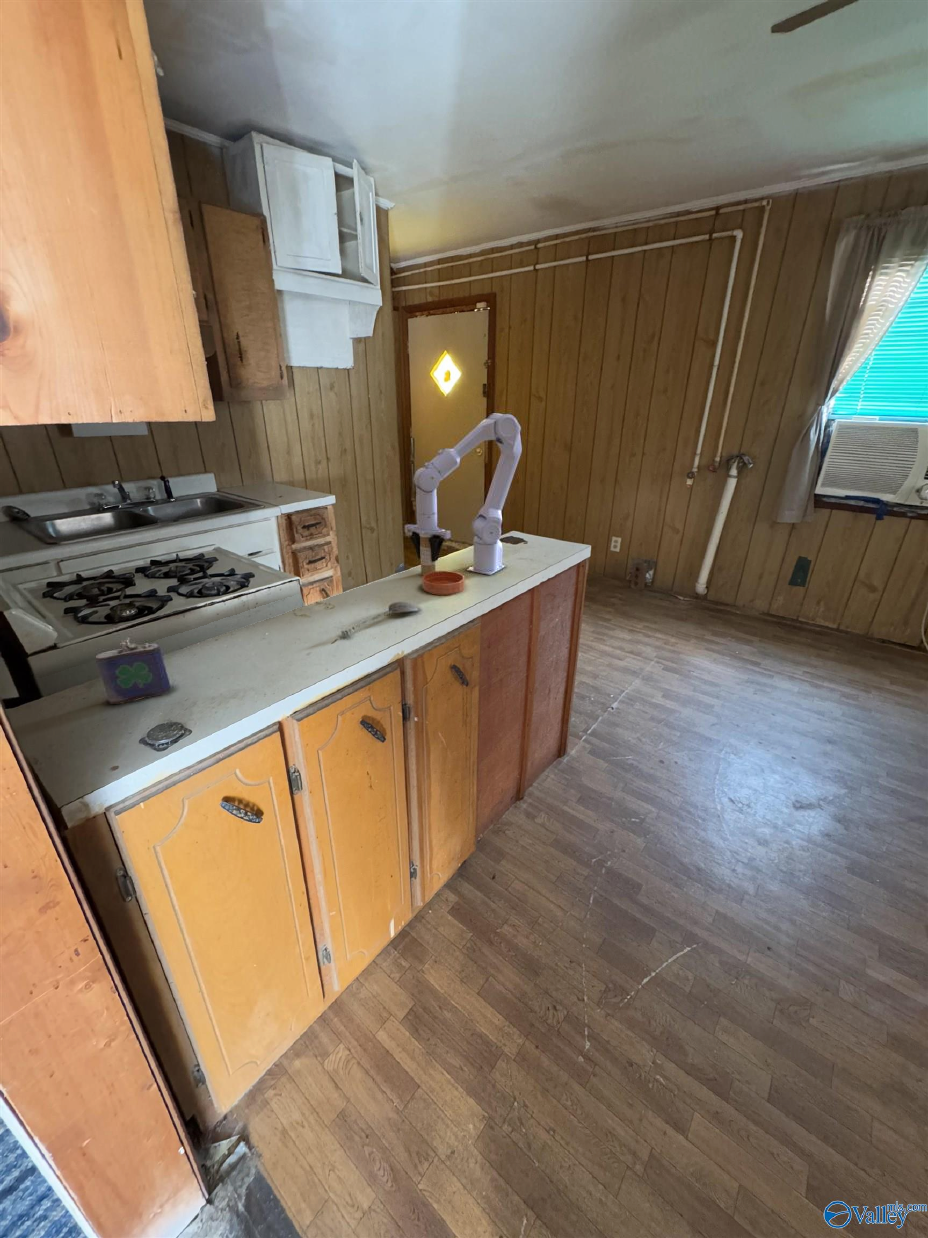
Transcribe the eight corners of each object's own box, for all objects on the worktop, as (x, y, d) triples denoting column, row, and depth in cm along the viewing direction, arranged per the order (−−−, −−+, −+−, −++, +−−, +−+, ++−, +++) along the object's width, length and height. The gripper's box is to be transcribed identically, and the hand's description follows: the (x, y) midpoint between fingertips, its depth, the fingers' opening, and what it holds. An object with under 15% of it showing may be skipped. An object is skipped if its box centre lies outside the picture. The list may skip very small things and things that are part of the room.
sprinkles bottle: (430, 570, 150) (429, 526, 145) (439, 574, 147) (438, 529, 142) (417, 573, 148) (416, 528, 142) (426, 577, 145) (425, 531, 139)
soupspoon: (424, 614, 122) (405, 608, 126) (423, 600, 121) (404, 595, 125) (352, 641, 107) (333, 634, 110) (351, 626, 105) (332, 619, 109)
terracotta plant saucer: (437, 578, 145) (437, 568, 143) (472, 585, 139) (472, 575, 138) (413, 590, 136) (413, 579, 134) (450, 598, 130) (450, 587, 129)
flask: (108, 706, 84) (90, 649, 80) (111, 697, 86) (93, 641, 82) (171, 693, 88) (156, 638, 83) (171, 685, 90) (157, 631, 86)
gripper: (397, 512, 140) (399, 558, 146) (440, 518, 134) (441, 567, 139) (412, 507, 146) (413, 553, 151) (454, 513, 139) (454, 560, 145)
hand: (427, 559), depth 146 cm, fingers closed on sprinkles bottle, 4 cm apart
